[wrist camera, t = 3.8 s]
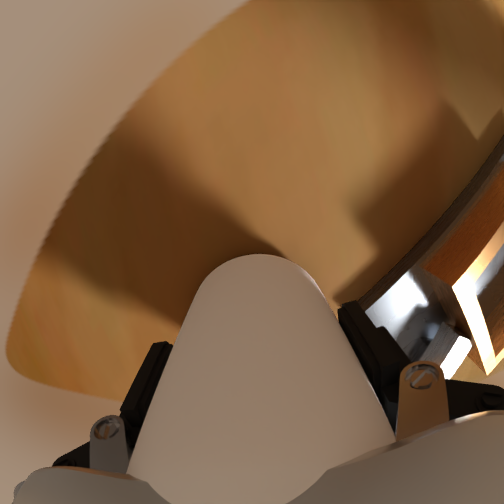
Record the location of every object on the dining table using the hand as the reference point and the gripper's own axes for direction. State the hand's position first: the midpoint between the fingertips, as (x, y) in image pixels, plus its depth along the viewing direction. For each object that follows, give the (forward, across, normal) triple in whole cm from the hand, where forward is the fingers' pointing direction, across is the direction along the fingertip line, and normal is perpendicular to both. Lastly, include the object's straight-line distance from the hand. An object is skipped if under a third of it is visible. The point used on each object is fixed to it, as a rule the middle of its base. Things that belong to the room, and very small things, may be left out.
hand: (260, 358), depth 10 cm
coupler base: (+5, -15, +1) cm, 16 cm away
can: (+4, 0, 0) cm, 4 cm away
